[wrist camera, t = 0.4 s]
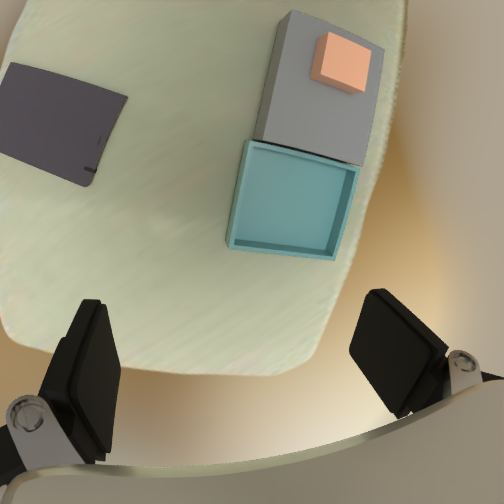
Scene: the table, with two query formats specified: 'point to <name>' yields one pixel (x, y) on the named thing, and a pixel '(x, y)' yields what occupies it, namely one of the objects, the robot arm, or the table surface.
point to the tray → (290, 202)
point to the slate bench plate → (315, 96)
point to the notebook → (55, 121)
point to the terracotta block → (341, 63)
